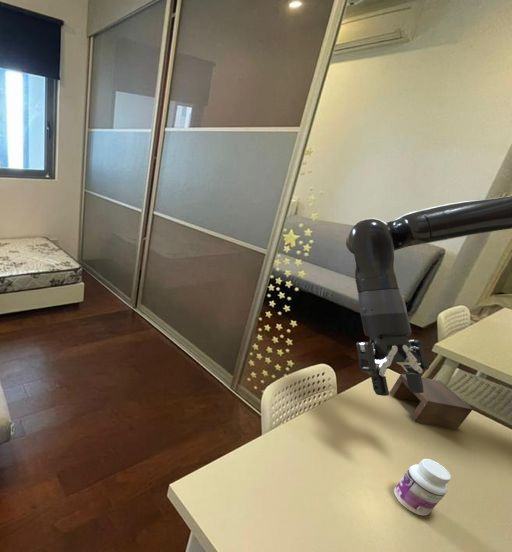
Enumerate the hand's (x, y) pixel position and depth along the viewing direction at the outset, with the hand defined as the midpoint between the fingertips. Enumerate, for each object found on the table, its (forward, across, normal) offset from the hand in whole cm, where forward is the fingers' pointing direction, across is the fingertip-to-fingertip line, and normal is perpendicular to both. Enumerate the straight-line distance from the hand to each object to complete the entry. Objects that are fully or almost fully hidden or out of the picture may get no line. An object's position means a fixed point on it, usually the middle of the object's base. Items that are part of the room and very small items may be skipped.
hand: (399, 393), depth 64 cm
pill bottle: (+20, -1, +2) cm, 20 cm away
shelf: (+8, +28, +18) cm, 34 cm away
